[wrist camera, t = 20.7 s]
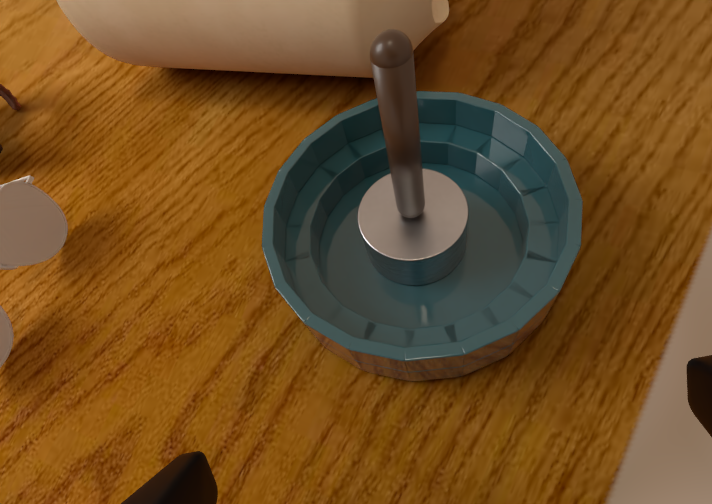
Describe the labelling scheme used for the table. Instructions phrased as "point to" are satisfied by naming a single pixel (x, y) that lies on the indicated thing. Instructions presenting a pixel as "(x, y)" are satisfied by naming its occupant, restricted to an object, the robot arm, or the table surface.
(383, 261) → the silver joystick
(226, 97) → the table surface
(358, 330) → the bowl
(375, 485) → the table surface
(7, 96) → the pottery mug
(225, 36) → the candle
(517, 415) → the table surface
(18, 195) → the sunglasses
